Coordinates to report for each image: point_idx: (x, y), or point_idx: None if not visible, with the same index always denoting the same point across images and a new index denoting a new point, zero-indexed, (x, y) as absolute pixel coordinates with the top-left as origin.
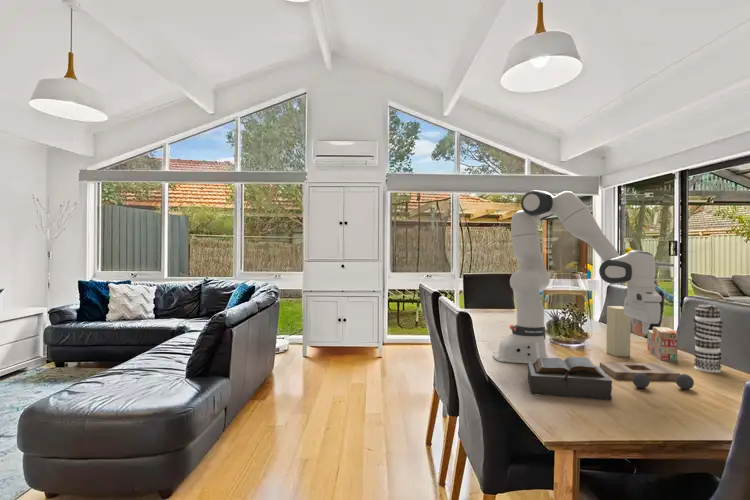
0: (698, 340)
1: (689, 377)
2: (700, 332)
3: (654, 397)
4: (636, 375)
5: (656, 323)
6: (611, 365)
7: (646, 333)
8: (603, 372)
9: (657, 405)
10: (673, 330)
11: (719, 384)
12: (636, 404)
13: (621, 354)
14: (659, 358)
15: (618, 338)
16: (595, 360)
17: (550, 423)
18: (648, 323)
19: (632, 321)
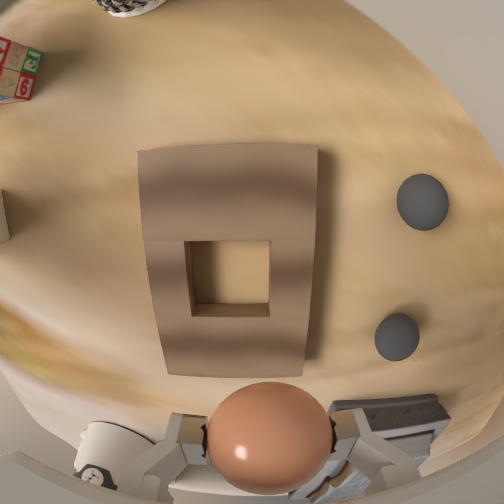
0: None
1: (447, 199)
2: None
3: (448, 319)
4: (403, 359)
5: (501, 441)
6: (208, 359)
7: (358, 413)
8: (399, 430)
9: (477, 329)
10: None
11: (344, 39)
12: (462, 361)
13: (2, 219)
14: (19, 101)
15: None
16: (71, 325)
17: (457, 440)
18: (410, 473)
19: (166, 486)
